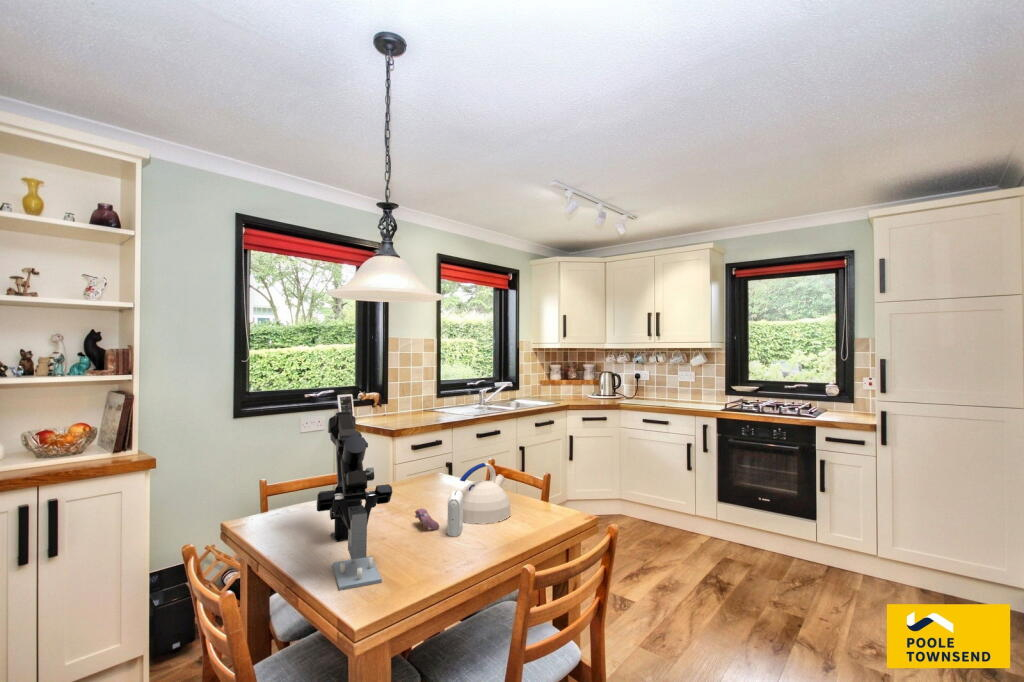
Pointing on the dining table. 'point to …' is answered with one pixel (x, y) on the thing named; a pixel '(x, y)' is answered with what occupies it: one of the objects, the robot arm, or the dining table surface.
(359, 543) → the block
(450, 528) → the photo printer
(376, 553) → the dining table surface
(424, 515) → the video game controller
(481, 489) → the kettle
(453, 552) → the dining table surface
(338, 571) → the grey peg board
